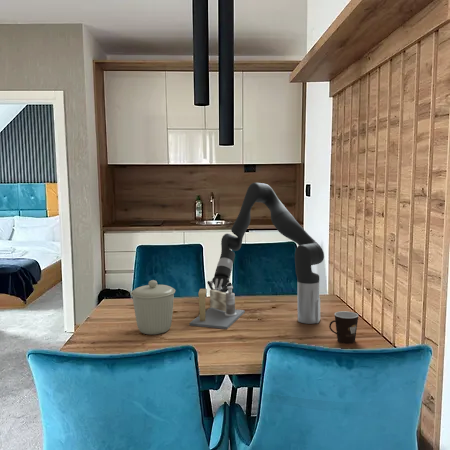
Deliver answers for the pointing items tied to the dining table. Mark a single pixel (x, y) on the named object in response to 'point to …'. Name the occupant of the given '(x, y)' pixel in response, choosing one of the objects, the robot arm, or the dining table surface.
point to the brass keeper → (202, 304)
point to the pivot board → (218, 317)
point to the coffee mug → (345, 326)
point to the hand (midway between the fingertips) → (215, 300)
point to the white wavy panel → (222, 301)
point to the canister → (153, 307)
